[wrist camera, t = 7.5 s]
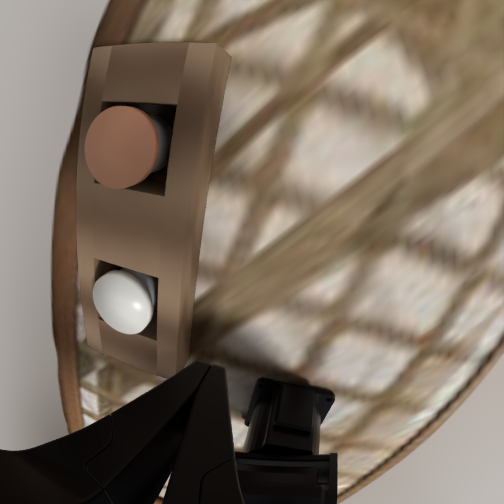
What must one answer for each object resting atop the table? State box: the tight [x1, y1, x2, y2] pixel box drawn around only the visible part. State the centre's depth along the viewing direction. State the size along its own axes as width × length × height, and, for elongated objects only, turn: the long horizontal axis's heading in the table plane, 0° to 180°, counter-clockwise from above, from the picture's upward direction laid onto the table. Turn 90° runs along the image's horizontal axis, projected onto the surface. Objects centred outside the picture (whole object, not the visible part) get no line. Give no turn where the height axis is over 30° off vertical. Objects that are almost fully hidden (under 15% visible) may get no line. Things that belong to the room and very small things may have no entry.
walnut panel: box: [76, 42, 232, 379], centre depth 19 cm, size 22×8×3 cm, turn 169°
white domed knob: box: [93, 267, 159, 334], centre depth 20 cm, size 4×4×4 cm
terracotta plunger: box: [85, 106, 173, 189], centre depth 16 cm, size 4×4×4 cm
